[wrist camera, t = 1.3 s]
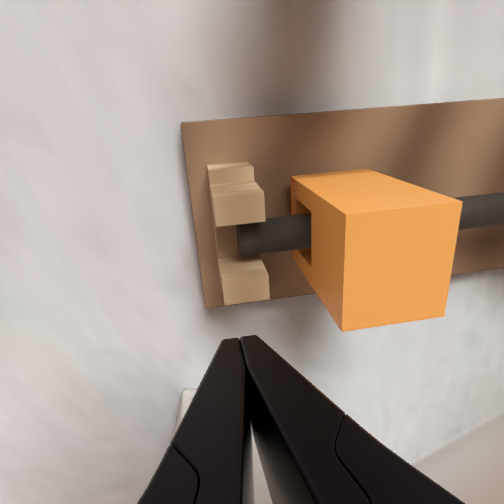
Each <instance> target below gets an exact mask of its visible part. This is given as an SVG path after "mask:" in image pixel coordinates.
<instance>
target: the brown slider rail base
mask: <svg viewBox="0 0 504 504" xmlns="http://www.w3.org/2000/svg"><path fill="white" fill-rule="evenodd" d="M181 129H182V137H183V144H184V152H185V159H186V167H187V174H188V182H189V189H190V197H191V204H192V211H193V219H194V226H195V234H196V241H197V249H198V256H199V264H200V271H201V279H202V286H203V294H204V301H205V308H212V307H219V306H226V305H234V304H241V303H248V302H256V301H263V300H270V299H278V298H285V297H292V296H300V295H307V294H314V293H316V292H315V291H314V289H313V288H312V286H311V285H310V283H309V282H308V280H307V279H306V277H305V276H304V274H303V273H302V271H301V270H300V268H299V267H298V265H297V264H296V262H295V261H294V259H293V258H292V250H298V249H306V248H311V213H309V214H300V215H291V181H290V176H297V175H307V174H318V173H328V172H338V171H349V170H359V169H369V170H372V171H375V172H378V173H381V174H384V175H387V176H390V177H393V178H396V179H399V180H401V181H404V182H407V183H410V184H413V185H416V186H419V187H422V188H425V189H428V190H431V191H433V192H436V193H439V194H442V195H445V196H448V197H451V198H454V199H457V200H460V201H463V203H462V209H461V215H460V222H459V228H458V234H457V240H456V246H455V253H454V259H453V265H452V271H451V275H454V274H461V273H468V272H476V271H483V270H490V269H498V268H504V98H497V99H484V100H471V101H458V102H445V103H432V104H418V105H405V106H392V107H379V108H366V109H352V110H339V111H326V112H313V113H300V114H286V115H273V116H260V117H247V118H234V119H221V120H207V121H194V122H181Z"/></svg>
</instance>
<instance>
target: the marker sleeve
mask: <svg viewBox="0 0 504 504" xmlns="http://www.w3.org/2000/svg"><path fill="white" fill-rule="evenodd" d="M290 181H291V215H300V214H309V213H311V248H306V249H298V250H292V258H293V259H294V261H295V262H296V264H297V265H298V267H299V268H300V270H301V271H302V273H303V274H304V276H305V277H306V279H307V280H308V282H309V283H310V285H311V286H312V288H313V289H314V291H315V292H316V294H317V295H318V297H319V298H320V300H321V301H322V303H323V304H324V306H325V307H326V309H327V310H328V312H329V313H330V315H331V316H332V318H333V319H334V321H335V322H336V324H337V325H338V327H339V328H340V330H341V331H342V332H343V331H350V330H357V329H363V328H370V327H377V326H383V325H390V324H396V323H403V322H410V321H416V320H423V319H430V318H436V317H443V316H444V314H445V308H446V302H447V296H448V290H449V283H450V277H451V271H452V265H453V259H454V253H455V246H456V240H457V234H458V228H459V222H460V215H461V209H462V203H463V201H460V200H457V199H454V198H451V197H448V196H445V195H442V194H439V193H436V192H433V191H431V190H428V189H425V188H422V187H419V186H416V185H413V184H410V183H407V182H404V181H401V180H399V179H396V178H393V177H390V176H387V175H384V174H381V173H378V172H375V171H372V170H369V169H359V170H349V171H338V172H328V173H318V174H307V175H297V176H290Z"/></svg>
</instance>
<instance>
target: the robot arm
mask: <svg viewBox="0 0 504 504" xmlns="http://www.w3.org/2000/svg"><path fill="white" fill-rule="evenodd" d="M251 427H252V431H251ZM252 432H253V436H254V440H255V444H256V447H257V451H258V454H259V458H260V461H261V465H262V468H263V472H264V475H265V479H266V482H267V486H268V489H269V493H270V496H271V500H272V503H273V504H465V503H464V502H462V501H461V500H459V499H458V498H457V497H455V496H454V495H452V494H451V493H450V492H448V491H447V490H445V489H444V488H442V487H441V486H440V485H438V484H437V483H435V482H434V481H433V480H431V479H430V478H428V477H427V476H426V475H424V474H423V473H421V472H420V471H419V470H417V469H416V468H414V467H413V466H411V465H410V464H409V463H407V462H406V461H404V460H403V459H402V458H400V457H399V456H398V455H396V454H395V453H394V452H392V451H391V450H390V449H388V448H387V447H386V446H384V445H383V444H382V443H380V442H379V441H378V440H377V439H376V438H374V437H373V436H372V435H371V434H369V433H368V432H367V431H366V430H365V429H363V428H362V427H361V426H360V425H359V424H357V423H356V422H355V421H354V420H353V419H352V418H351V417H349V416H348V415H345V413H344V411H342V410H341V409H340V408H339V407H338V406H337V405H336V404H334V403H333V402H332V401H331V400H330V399H329V398H328V397H326V396H325V395H324V394H323V393H322V392H321V391H320V390H318V389H317V388H316V387H315V386H314V385H313V384H312V383H310V382H309V381H308V380H307V379H306V378H305V377H304V376H302V375H301V374H300V373H299V372H298V371H297V370H296V369H294V368H293V367H292V366H291V365H290V364H289V363H288V362H286V361H285V360H284V359H283V358H282V357H281V356H280V355H278V354H277V353H276V352H275V351H274V350H273V349H272V348H270V347H269V346H268V345H267V344H266V343H265V342H264V341H262V340H261V339H260V338H259V337H258V336H256V335H251V336H244V337H241V338H240V341H239V339H238V338H231V339H224V340H222V341H221V343H220V345H219V347H218V349H217V351H216V353H215V355H214V357H213V359H212V361H211V363H210V365H209V367H208V369H207V371H206V373H205V375H204V377H203V379H202V381H201V383H200V385H199V387H198V389H197V391H196V393H195V395H194V397H193V399H192V401H191V403H190V405H189V407H188V409H187V411H186V413H185V415H184V417H183V419H182V421H181V423H180V425H179V427H178V429H177V431H176V433H175V435H174V437H173V439H172V441H171V443H170V445H171V446H169V447H168V449H167V451H166V453H165V455H164V457H163V459H162V461H161V463H160V465H159V466H158V468H157V470H156V472H155V474H154V476H153V478H152V479H151V481H150V483H149V485H148V487H147V489H146V490H145V492H144V493H143V495H142V497H141V498H140V500H139V501H138V503H137V504H254V480H253V450H252Z"/></svg>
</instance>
